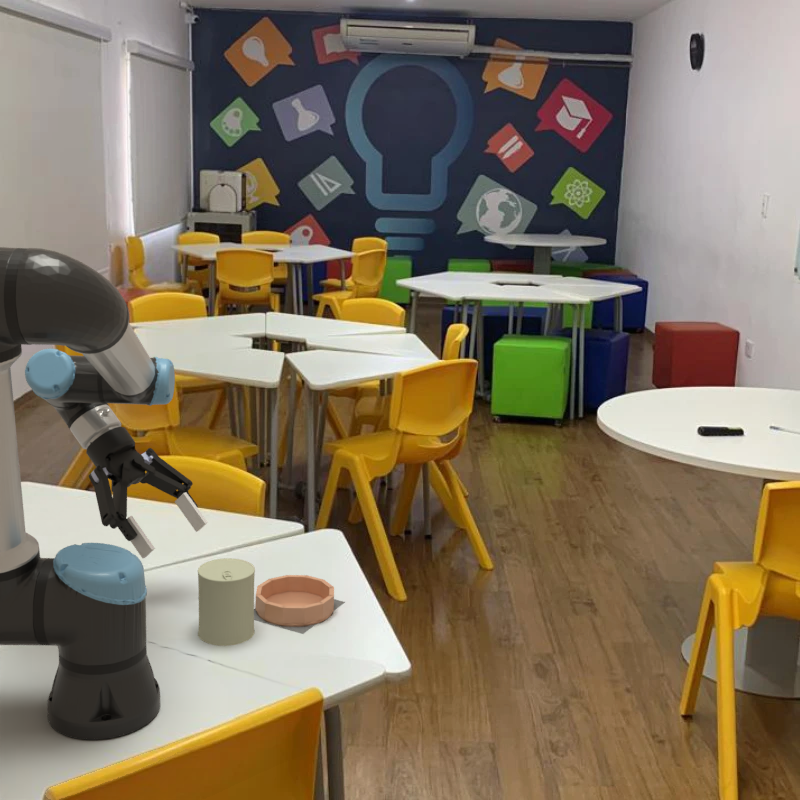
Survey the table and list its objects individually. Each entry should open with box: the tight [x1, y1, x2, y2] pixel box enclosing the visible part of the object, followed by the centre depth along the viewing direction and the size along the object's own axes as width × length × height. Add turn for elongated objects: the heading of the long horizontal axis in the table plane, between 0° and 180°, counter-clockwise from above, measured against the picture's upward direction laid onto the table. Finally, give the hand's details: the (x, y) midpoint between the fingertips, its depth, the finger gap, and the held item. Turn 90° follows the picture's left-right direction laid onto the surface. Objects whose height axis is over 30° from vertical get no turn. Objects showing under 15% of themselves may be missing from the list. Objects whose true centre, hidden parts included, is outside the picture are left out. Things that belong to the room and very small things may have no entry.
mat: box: [254, 598, 346, 635], centre depth 169 cm, size 14×12×1 cm
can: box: [197, 557, 256, 647], centre depth 159 cm, size 9×9×12 cm
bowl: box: [255, 574, 335, 627], centre depth 169 cm, size 13×13×3 cm
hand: (176, 540), depth 161 cm, fingers open, 13 cm apart
